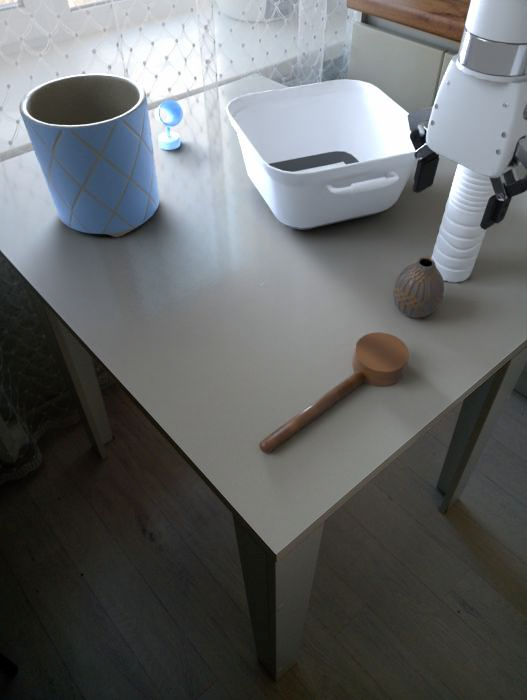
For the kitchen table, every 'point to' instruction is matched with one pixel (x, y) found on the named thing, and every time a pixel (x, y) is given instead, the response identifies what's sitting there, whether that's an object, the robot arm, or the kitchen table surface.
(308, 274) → the kitchen table surface
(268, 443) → the ladle
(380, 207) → the white plastic wash basin
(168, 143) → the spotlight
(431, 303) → the vase
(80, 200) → the planter
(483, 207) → the water bottle
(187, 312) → the kitchen table surface
